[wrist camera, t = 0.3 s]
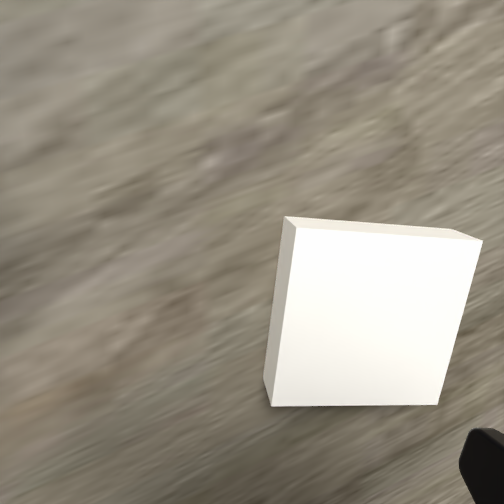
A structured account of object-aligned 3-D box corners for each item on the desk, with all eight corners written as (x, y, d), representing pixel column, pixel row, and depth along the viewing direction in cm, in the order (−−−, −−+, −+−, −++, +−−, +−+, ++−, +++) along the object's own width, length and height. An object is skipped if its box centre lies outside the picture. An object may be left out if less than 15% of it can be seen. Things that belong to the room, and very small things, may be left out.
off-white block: (410, 374, 26) (437, 404, 23) (261, 374, 24) (271, 406, 21) (447, 227, 23) (482, 240, 20) (282, 214, 22) (296, 227, 19)
